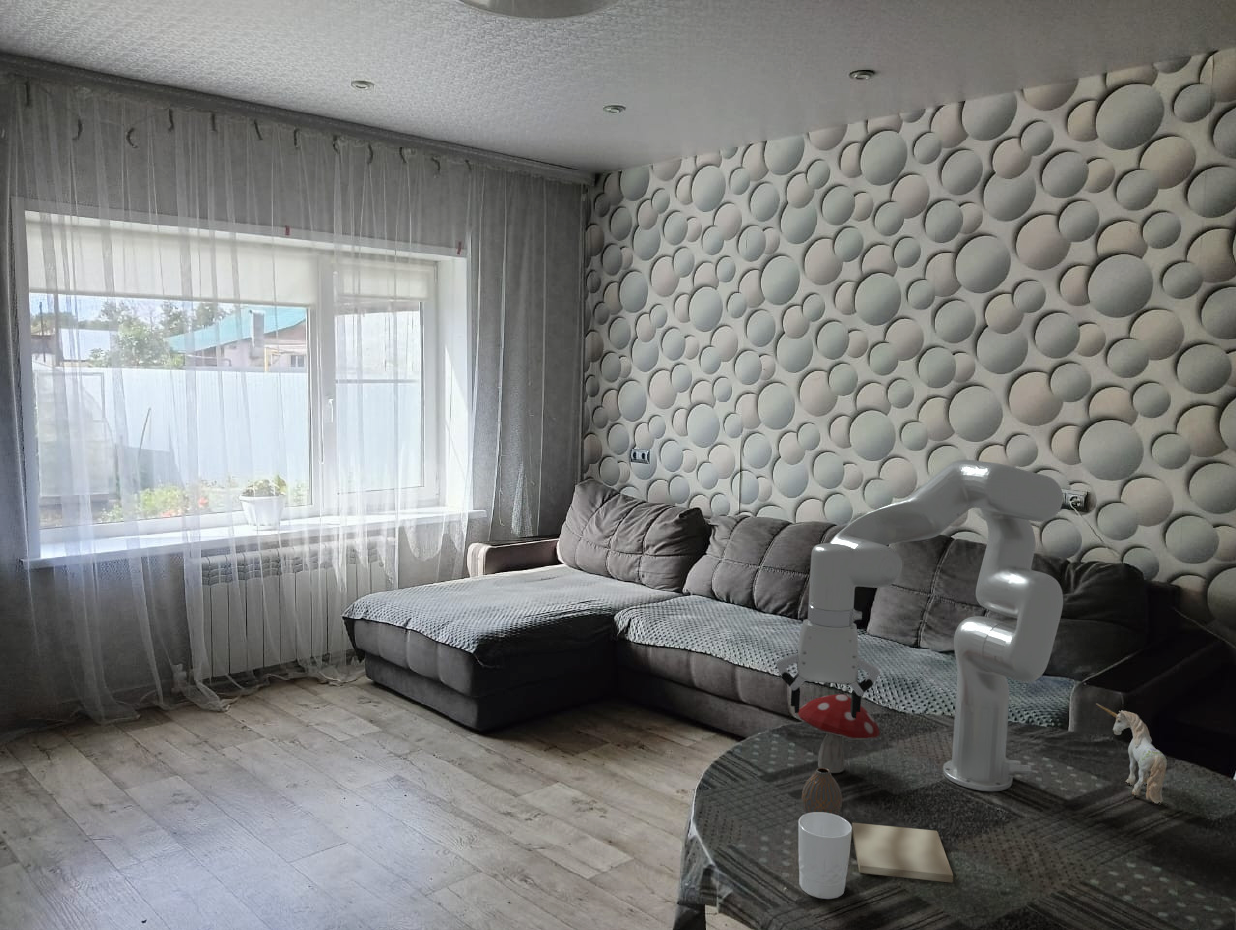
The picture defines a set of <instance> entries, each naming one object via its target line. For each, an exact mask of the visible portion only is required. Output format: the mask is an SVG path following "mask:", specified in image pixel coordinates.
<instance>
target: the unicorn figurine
mask: <svg viewBox="0 0 1236 930" xmlns="http://www.w3.org/2000/svg"><path fill="white" fill-rule="evenodd" d="M1095 705H1096V706H1097V707H1098V708H1100V709H1102V710H1103V711H1105V712H1106V713H1108V714H1109V715H1111V716H1112V717H1114V718H1116V719H1115V723H1114V724H1113V728H1112V732H1113V733H1114V735H1116V736H1118V735H1119V736H1121V735H1122V732H1123V731H1124V730H1125V729H1127V728H1130V730H1131V733H1132V739H1131V741H1130V743H1129V745H1128V749H1127V751H1128V756H1129V762H1130V763H1129V772H1130V773H1129V775H1128V778H1127V779H1126V780H1125V782H1127V783H1130V784H1129V785H1130V786H1131V785H1134V786H1133V789H1132V791H1131V793H1132V794H1134V795H1139V796H1140V792H1141V790H1142V785H1143V784H1144V782H1147V785H1146V795H1145V798H1146V800H1147V801H1148V800H1149V799H1150V800H1151V801H1152V803H1153V802H1154V803H1153V804H1158V803H1159V802H1160V803H1161V802H1163V795H1162V790H1163V787H1164V786H1163V782H1164V780H1165V777H1166V771H1167V765H1168V760H1167V758H1166V756H1165V755H1164V754H1163V752H1162V751H1160V750H1159V749H1156V748H1155V746H1154V745H1153V744H1152V742H1153V740H1152V737H1151V736H1150V730H1149V729H1148V726H1147V724H1146V723H1144V721H1143V720H1142V719H1141V718H1140V716H1139V715H1138V714H1137V713H1134V712H1130V711H1127V710H1122V709H1121V711H1120V710H1119V711H1118V712H1119V713H1118V714H1117V713H1116V712H1114V711H1112V710H1110V709H1109V708H1107V707H1105V706H1102V705H1101V704H1099V703H1095ZM1136 762H1137V763H1136ZM1136 764H1138V780H1137V782H1136V779H1137V778H1136V775H1135V771H1136V768H1137V766H1136ZM1149 772H1150V773H1149ZM1132 794H1131V795H1132ZM1161 804H1162V803H1161Z"/></svg>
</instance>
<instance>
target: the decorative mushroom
mask: <svg viewBox="0 0 1236 930" xmlns="http://www.w3.org/2000/svg"><path fill="white" fill-rule="evenodd" d="M797 715H798V717H799V718H800V720H802V722H803V721H804V722H805V723H807V724H808V725H810V726H811V727H813V728H815V729H817V730H819V731H821V732H823V733H826V734H825V736H824V738H823V740H822V742H821V744H820V747H819V748H820V749H819V751H818V759H817V761H818V762H817V765H818V766H817V768H827V769H829V770H830V772H831V774H839V773H841V772H843V771H844V770H845V753H844V747H843V738H844V739H845V738H846V739H849V740H852V741H853V740H859V741H860V740H861V741H862V740H863V741H866V740H872V739H876V738H878V737H879V736H880V735H881V733H880V729H879V726H878V724H877V722H876V721H875V719H874V718H873V717H872V716H871V714H870V713H869V712H868V711H867V710H866V709H865V708H864V707H863V706H862V705H861V709H860V712H857V714H856V718H853V717H852V716H851V696H849V695H846V694H842V693H841V694H830V695H824V696H821V697H817V698H814V699H812V700H810V701H808V702H806V703H805V704H804V705H803V706H801V707H799V712H798V713H797Z"/></svg>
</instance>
